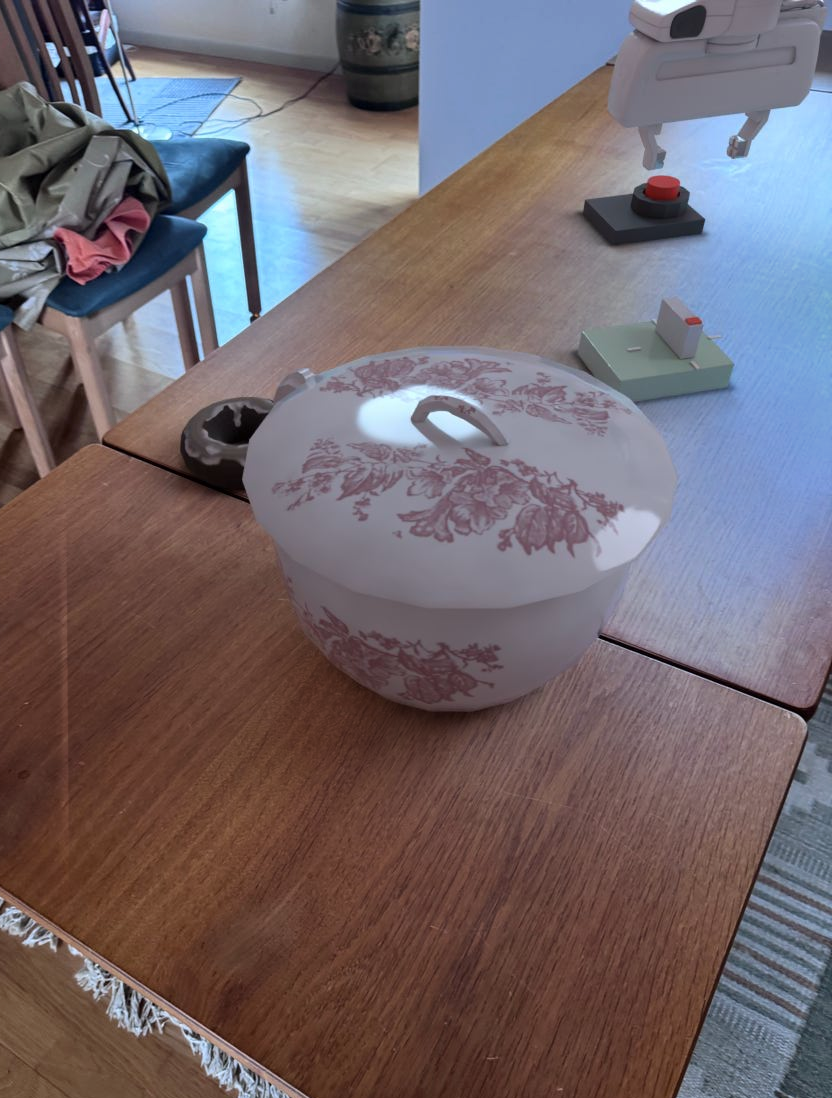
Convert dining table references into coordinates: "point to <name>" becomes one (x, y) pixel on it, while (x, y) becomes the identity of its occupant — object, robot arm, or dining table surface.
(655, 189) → the red button
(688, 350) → the grey rectangular block
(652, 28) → the robot arm
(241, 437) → the donut
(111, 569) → the dining table surface
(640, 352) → the tap panel
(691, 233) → the button block
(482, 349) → the chamber pot
